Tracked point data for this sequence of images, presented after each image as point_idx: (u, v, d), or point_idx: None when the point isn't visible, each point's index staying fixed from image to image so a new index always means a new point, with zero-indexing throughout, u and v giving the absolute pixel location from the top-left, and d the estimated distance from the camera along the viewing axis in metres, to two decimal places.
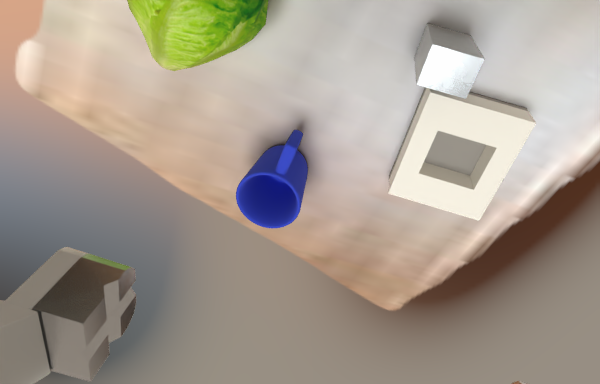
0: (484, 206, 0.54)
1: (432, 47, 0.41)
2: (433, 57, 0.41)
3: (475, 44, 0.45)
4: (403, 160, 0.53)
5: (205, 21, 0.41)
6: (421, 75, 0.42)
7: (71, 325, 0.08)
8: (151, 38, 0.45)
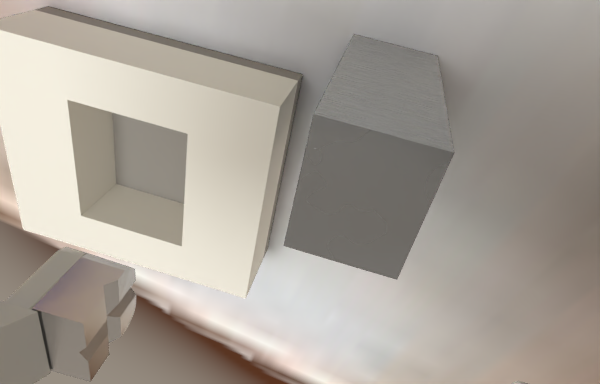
0: (55, 235, 0.26)
1: (442, 153, 0.12)
2: (408, 158, 0.12)
3: None
4: (84, 56, 0.19)
5: None
6: (346, 126, 0.12)
7: (71, 325, 0.08)
8: None
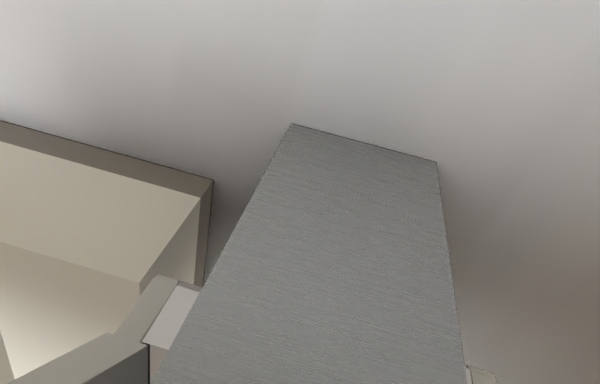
0: None
1: None
2: None
3: None
4: None
5: None
6: None
7: None
8: None
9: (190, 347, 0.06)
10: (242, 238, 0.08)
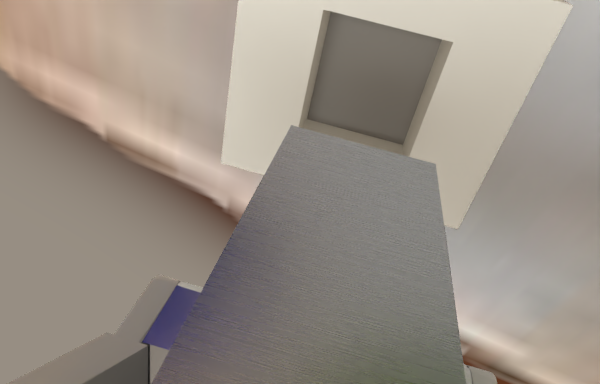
0: (256, 168, 0.25)
1: None
2: None
3: None
4: None
5: None
6: None
7: None
8: None
9: (190, 348, 0.06)
10: (242, 240, 0.08)
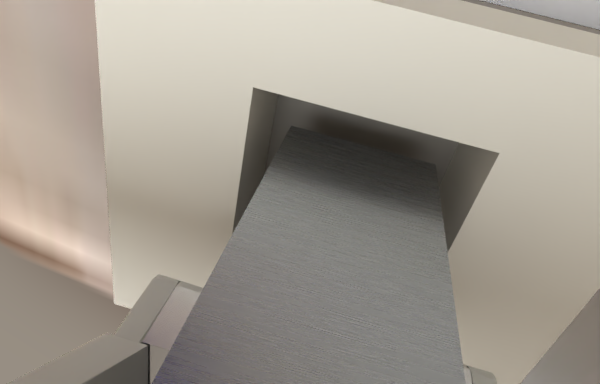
0: None
1: None
2: None
3: None
4: None
5: None
6: None
7: None
8: None
9: (190, 348, 0.06)
10: (242, 240, 0.08)
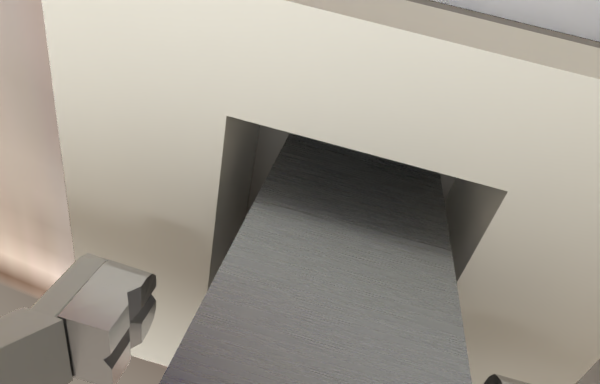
0: (145, 354, 0.14)
1: None
2: None
3: None
4: (297, 13, 0.08)
5: None
6: None
7: (96, 332, 0.08)
8: None
9: (221, 297, 0.07)
10: (261, 210, 0.08)
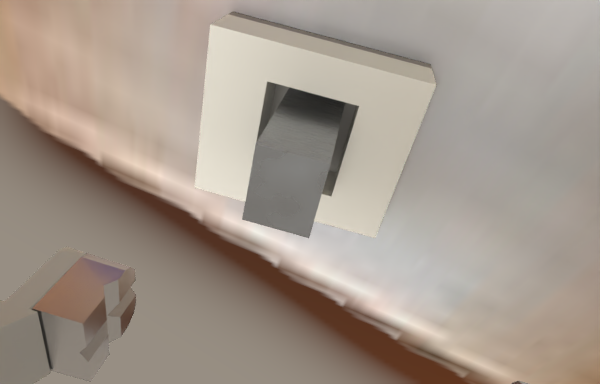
0: (222, 192, 0.33)
1: (324, 164, 0.22)
2: (307, 167, 0.23)
3: None
4: (291, 49, 0.26)
5: None
6: (273, 150, 0.23)
7: (72, 324, 0.08)
8: None
9: (271, 125, 0.25)
10: (279, 110, 0.27)
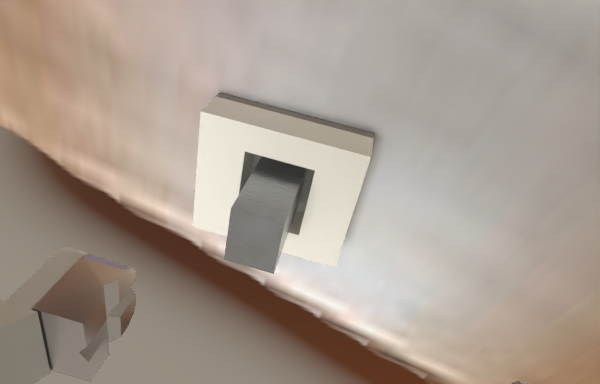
0: (214, 230, 0.41)
1: (280, 223, 0.31)
2: (268, 225, 0.31)
3: (289, 229, 0.38)
4: (261, 129, 0.35)
5: None
6: (243, 213, 0.31)
7: (71, 325, 0.08)
8: None
9: (245, 189, 0.33)
10: (253, 174, 0.35)
